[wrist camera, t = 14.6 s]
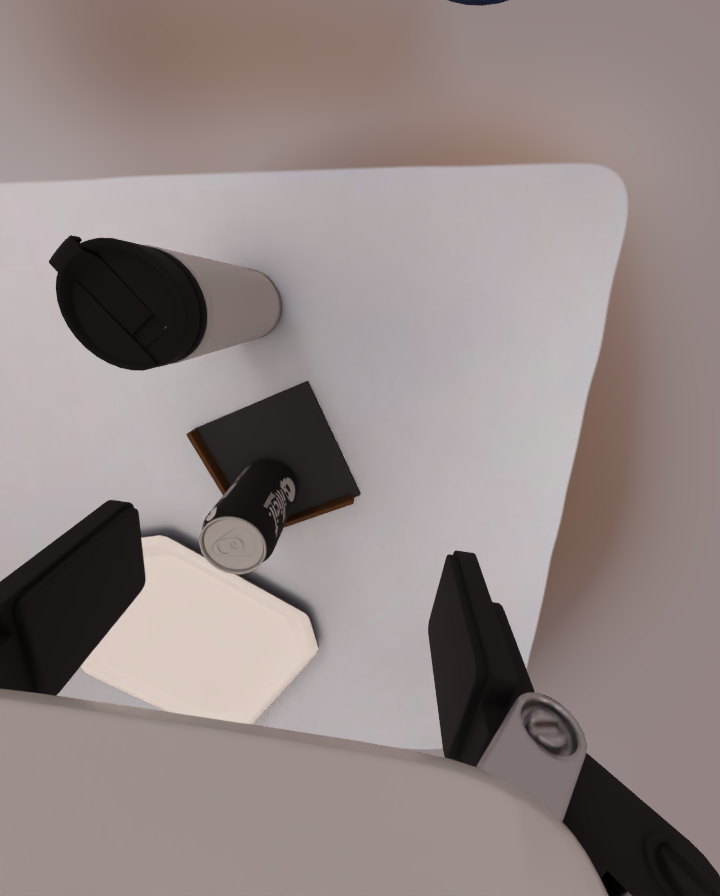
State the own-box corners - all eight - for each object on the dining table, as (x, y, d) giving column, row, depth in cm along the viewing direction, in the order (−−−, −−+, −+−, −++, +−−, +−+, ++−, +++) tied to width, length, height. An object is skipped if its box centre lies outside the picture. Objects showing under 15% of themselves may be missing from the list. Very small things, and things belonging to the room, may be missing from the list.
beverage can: (308, 499, 44) (283, 567, 33) (257, 515, 45) (216, 586, 34) (285, 449, 42) (249, 504, 30) (232, 467, 43) (179, 526, 32)
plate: (338, 619, 51) (336, 632, 48) (239, 730, 60) (234, 745, 58) (139, 507, 46) (127, 516, 44) (66, 647, 55) (54, 660, 53)
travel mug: (248, 250, 35) (95, 194, 16) (295, 310, 37) (205, 321, 18) (202, 295, 37) (17, 291, 18) (249, 350, 38) (124, 399, 20)
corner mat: (194, 428, 42) (185, 434, 40) (307, 381, 39) (304, 384, 37) (254, 530, 46) (249, 539, 44) (360, 493, 44) (359, 501, 42)
